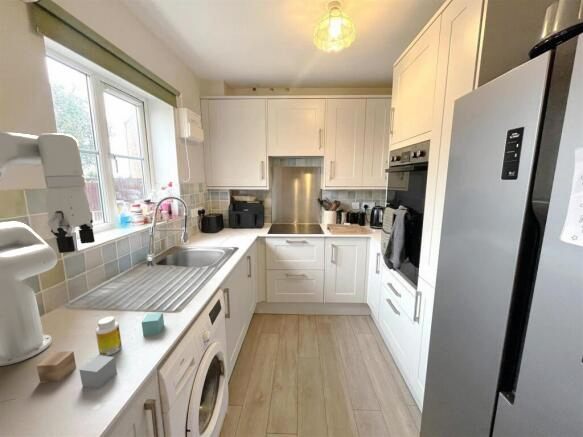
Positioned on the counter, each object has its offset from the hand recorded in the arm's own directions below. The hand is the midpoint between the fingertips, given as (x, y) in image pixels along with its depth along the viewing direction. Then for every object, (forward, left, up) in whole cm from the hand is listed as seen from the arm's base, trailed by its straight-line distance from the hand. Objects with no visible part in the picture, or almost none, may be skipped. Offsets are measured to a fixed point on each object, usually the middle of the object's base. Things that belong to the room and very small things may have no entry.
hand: (78, 247), depth 65 cm
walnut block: (-4, -7, -34) cm, 35 cm away
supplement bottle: (+2, +3, -34) cm, 34 cm away
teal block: (+8, +14, -34) cm, 37 cm away
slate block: (+9, -7, -34) cm, 36 cm away
